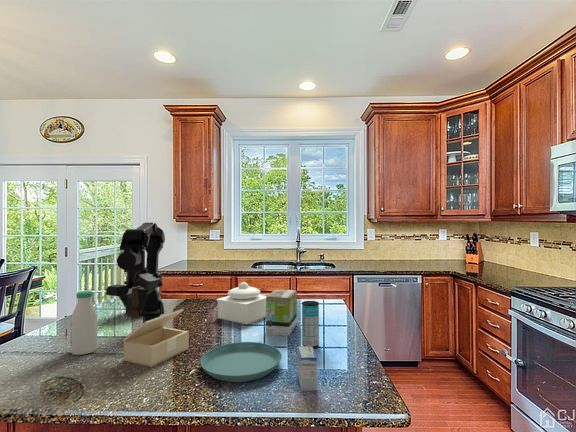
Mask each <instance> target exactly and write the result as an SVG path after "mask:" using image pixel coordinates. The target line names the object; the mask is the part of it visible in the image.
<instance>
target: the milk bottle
mask: <svg viewBox="0 0 576 432" xmlns="http://www.w3.org/2000/svg"><path fill="white" fill-rule="evenodd" d="M92 298H93V291H92V290H83V291H78V292H77V293H76V301H77V302H76V305H75V308H74V310H73V312H72V314H71V318H70V353H71V355H73V356H82V355H87V354H91V353H93V352H95V351H97V349H98V313H97V312H98V311H97V310H96V308H95V306H94V303H93V301H92Z"/></svg>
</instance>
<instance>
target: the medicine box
mask: <svg viewBox="0 0 576 432" xmlns="http://www.w3.org/2000/svg"><path fill="white" fill-rule="evenodd" d="M296 373H297V374H296V375H297V380H298V384H299V387H300V391H301V392H314V391H318V357H317V353H316V352H315V348H313V347H308V346H305V347H304V346H298V347H297V372H296Z"/></svg>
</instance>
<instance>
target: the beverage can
mask: <svg viewBox="0 0 576 432" xmlns="http://www.w3.org/2000/svg"><path fill="white" fill-rule="evenodd" d="M319 304H320V303H319V301H316V300H305V301H302V302H301V333H302V334H301V343H302V344H301V345H302V347H305V346H308V347H313V349H315V348H318V347H319V344H320V305H319Z"/></svg>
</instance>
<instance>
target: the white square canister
mask: <svg viewBox="0 0 576 432" xmlns="http://www.w3.org/2000/svg"><path fill="white" fill-rule="evenodd" d="M266 296H267V295H264V294H261V291H260V289H259V288H256V287H254V286H250V285H249V284H248V283H247V282H246V281H242V282H240V283H239V284H238V287H233V288H232V289H231V288H230V290H228V291H227V296H223V297H219V298H216V301H217V319H220V320H223V321H229V322H234V323H239V324H242V325H243V324H244V325H250V324H253V323H255V322H257V321H261V320H262V319H266Z"/></svg>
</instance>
